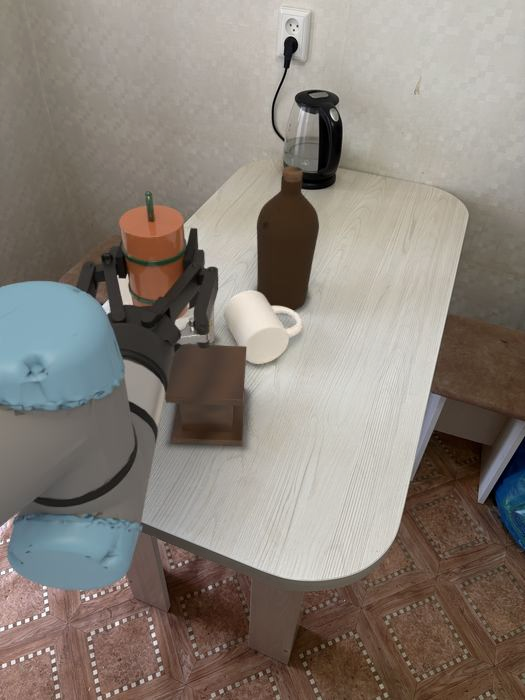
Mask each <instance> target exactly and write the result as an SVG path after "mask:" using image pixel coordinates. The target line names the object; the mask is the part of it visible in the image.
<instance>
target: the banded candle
mask: <svg viewBox="0 0 525 700" xmlns="http://www.w3.org/2000/svg"><path fill="white" fill-rule="evenodd" d="M144 199H145V205H142V206H137V207H134V208H132V209H130V210H127V211H126V212H124V213H123V214H122V215H121V217H120V218H119V220H118V226H119V231H120V237H121V240H122V252H123V255H124V256H125V262H126V267H127V273H128V279H129V283H128V288H129V292H130V294H131V297H132V303H133V305H135V306H139V307H141V306H152V305H153V304H154V303H155V301H156V300H157V299H158V298H159V297H160V296H161V297H164V295H165V294H166V293H167V292H168V291H169V289H170V288H171V287H172V286H173V284H174V283H175V282H176V281H177V280H178V278H179V277H180V276H181V275H182V274H183V272H184V256H185V252H186V250H187V239H186V236H185V235H186V234H185V222H184V217H183V215H182V213H180V212H179V211H178V210H177V209H174V208H172V207H169V206H165V205H158V204H154V199H153V192H152V191H151V190H145V192H144ZM188 309H189V303H188V304H187V306H186V307H185V308H184V310H183V311H182V312H181V314H180V315H179V316H178V318H177V319H179V318H181V317H182V316H183V315H184V314H185V313H186V312H187V311H188ZM177 319H176V320H177Z"/></svg>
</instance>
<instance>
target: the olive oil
mask: <svg viewBox="0 0 525 700" xmlns="http://www.w3.org/2000/svg"><path fill="white" fill-rule="evenodd" d="M303 175H304V170H303V169H302V168H301V167H299V166H295V165H288V166H285V167H283V169H282V176H281V179H280V180H281V181H280V191H279V192H278V193H276V194H275V195H274V196H273V197H271V198H270V199H269V200H268V201H266V203H265V204H264V205H263V206H262V208H261V209H260V211H259V214H258V216H257V221H256V255H257V257H256V260H257V261H256V264H257V265H256V266H257V267H256V268H257V270H256V271H257V277H256V278H257V283H256V291H258V292H260V293H262V294H263V295H264V296H265V297H266V299H267V301H268V302H269V304H270V305H271V306H283V307H287V308H289V309H291V310H293V311H295V310H297V309H299V308H301V307H303V305H304V304H305V303H306V300H307V295H308V291H309V284H310V277H311V271H312V268H313V263H314V256H315V252H316V247H317V241H318V236H319V231H320V221H319V215H318V212H317V210H316V208H315V207H314V205H313V204H312V203H311V202H310V201H309V199H308V198H307V197H305V195H304V194H303V193H302V187H303V180H304V179H303Z"/></svg>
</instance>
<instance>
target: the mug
mask: <svg viewBox="0 0 525 700" xmlns="http://www.w3.org/2000/svg"><path fill="white" fill-rule="evenodd" d="M277 314H284V315H286V316H289V317H290V318H291V319H292V320H293V321H294V323H295V324H294V325H292V326H291V327H288V328H285V325H283V323H282V321H281V320H280V318H279V317H278V315H277ZM223 319H224V321H225V323H226V325H227V327H228V330H229V331H230V332H231V335H232V336H233V339H234V340H235V343H236V345H237V346H245V347H247V349H246V362H249V363H251V364H255V365H262V364H267V363H270V362H272V361H274V360H276V359H278V358H279V357H280V356H281V355H282V354H283V353H284V352H285V350H286V349H287V347H288V345H289V342H290V338H292V337H294V336H297V335H298V334H300V333H301V331H302V330H303V328H304V327H303V326H304V325H303V324H304V323H303V319H302V318H301V316H300V315H299V313H298V312H296V311H295V310H291V309H289V308H287V307H283V306H271V305H270V304H269V302H268V301H267V299H266V297H265V296H264V295H263V294H262V293H260V292H258V291H257V290H252V289H251V290H249V289H248V290H244V291H241V292H239V293H236V294H235V295H234V296H232V297H231V298H230V299H229V300H228V301H227V302H226V305H225V306H224V309H223Z"/></svg>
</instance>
